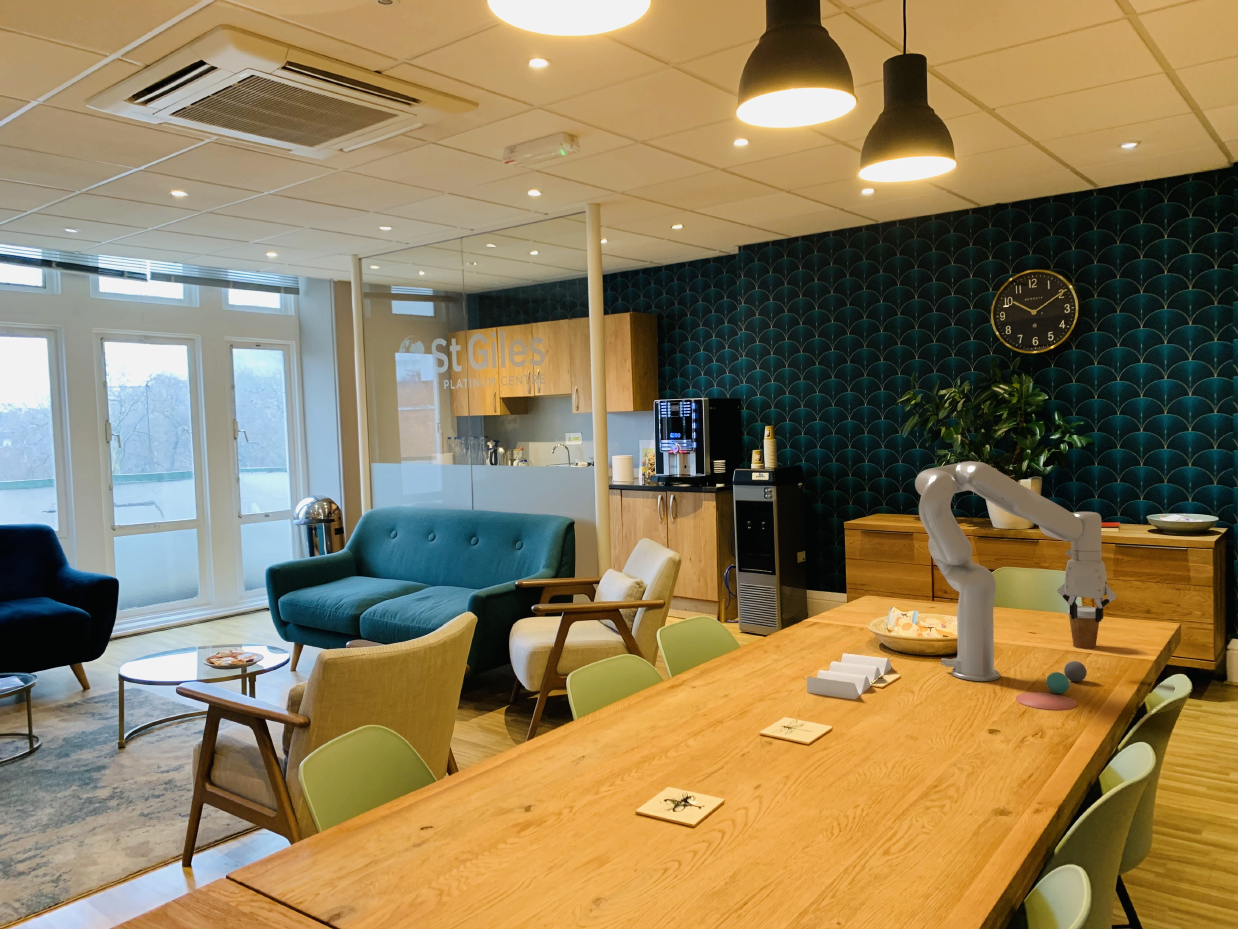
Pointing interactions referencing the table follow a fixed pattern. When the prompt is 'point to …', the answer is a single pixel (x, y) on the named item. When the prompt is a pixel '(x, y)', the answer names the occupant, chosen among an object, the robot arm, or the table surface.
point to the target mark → (1046, 701)
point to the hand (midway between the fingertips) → (1086, 619)
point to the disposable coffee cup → (1084, 628)
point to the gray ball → (1075, 671)
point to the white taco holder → (848, 676)
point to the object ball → (1057, 682)
